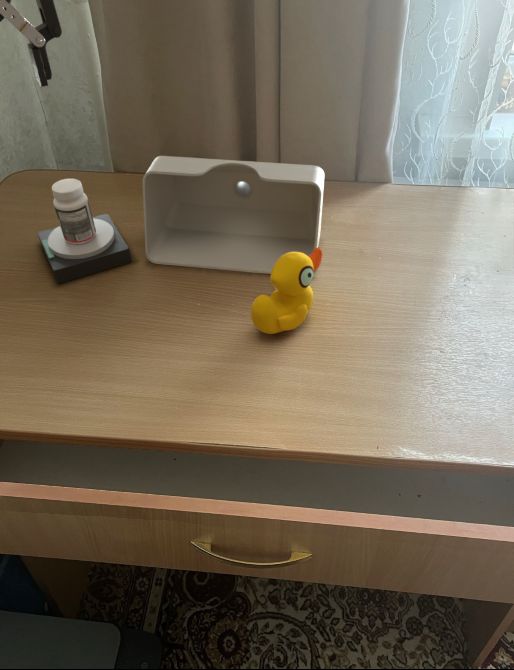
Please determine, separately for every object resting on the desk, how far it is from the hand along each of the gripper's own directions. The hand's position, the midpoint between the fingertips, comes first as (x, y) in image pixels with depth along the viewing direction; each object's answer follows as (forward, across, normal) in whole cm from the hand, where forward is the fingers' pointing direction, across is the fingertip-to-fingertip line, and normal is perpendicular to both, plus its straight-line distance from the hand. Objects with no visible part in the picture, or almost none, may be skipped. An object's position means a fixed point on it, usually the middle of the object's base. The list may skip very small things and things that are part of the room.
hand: (1, 91), depth 56 cm
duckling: (+28, +24, -18) cm, 41 cm away
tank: (+28, +28, +2) cm, 39 cm away
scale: (+28, +6, +10) cm, 30 cm away
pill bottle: (+25, +6, +10) cm, 28 cm away
